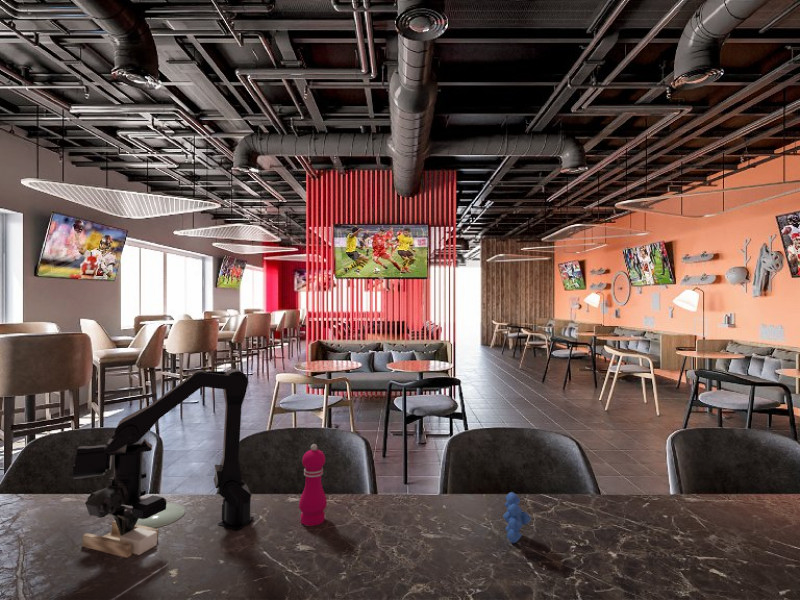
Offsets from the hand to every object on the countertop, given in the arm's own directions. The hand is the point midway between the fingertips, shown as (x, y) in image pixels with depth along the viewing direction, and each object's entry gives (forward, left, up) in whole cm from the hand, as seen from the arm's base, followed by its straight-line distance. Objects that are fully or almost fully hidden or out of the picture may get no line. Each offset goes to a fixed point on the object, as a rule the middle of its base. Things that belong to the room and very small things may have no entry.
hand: (125, 539), depth 100 cm
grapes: (-87, -33, -2) cm, 93 cm away
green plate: (+5, -13, -2) cm, 14 cm away
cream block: (-4, 0, -1) cm, 4 cm away
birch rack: (+1, 0, -2) cm, 2 cm away
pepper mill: (-35, -26, -2) cm, 43 cm away
